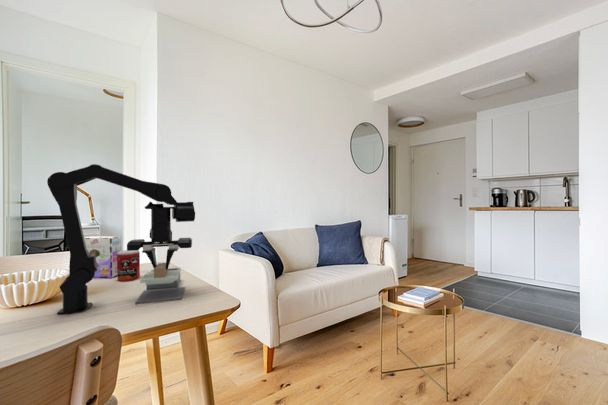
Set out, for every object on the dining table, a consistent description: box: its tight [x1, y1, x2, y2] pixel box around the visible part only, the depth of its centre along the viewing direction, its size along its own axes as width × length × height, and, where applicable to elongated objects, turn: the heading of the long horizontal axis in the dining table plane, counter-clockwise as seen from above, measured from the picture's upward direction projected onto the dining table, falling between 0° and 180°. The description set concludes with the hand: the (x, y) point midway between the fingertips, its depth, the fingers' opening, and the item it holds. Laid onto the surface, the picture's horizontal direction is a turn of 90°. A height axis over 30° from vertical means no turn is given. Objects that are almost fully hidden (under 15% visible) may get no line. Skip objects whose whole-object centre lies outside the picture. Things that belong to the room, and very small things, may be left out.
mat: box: [134, 286, 186, 305], centre depth 97 cm, size 12×13×1 cm
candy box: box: [84, 235, 122, 279], centre depth 122 cm, size 14×6×16 cm, turn 84°
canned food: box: [116, 249, 141, 282], centre depth 118 cm, size 8×8×11 cm
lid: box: [139, 262, 181, 285], centre depth 97 cm, size 10×10×5 cm
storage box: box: [145, 267, 181, 290], centre depth 109 cm, size 10×10×5 cm
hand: (161, 270), depth 97 cm, fingers closed on lid, 3 cm apart
